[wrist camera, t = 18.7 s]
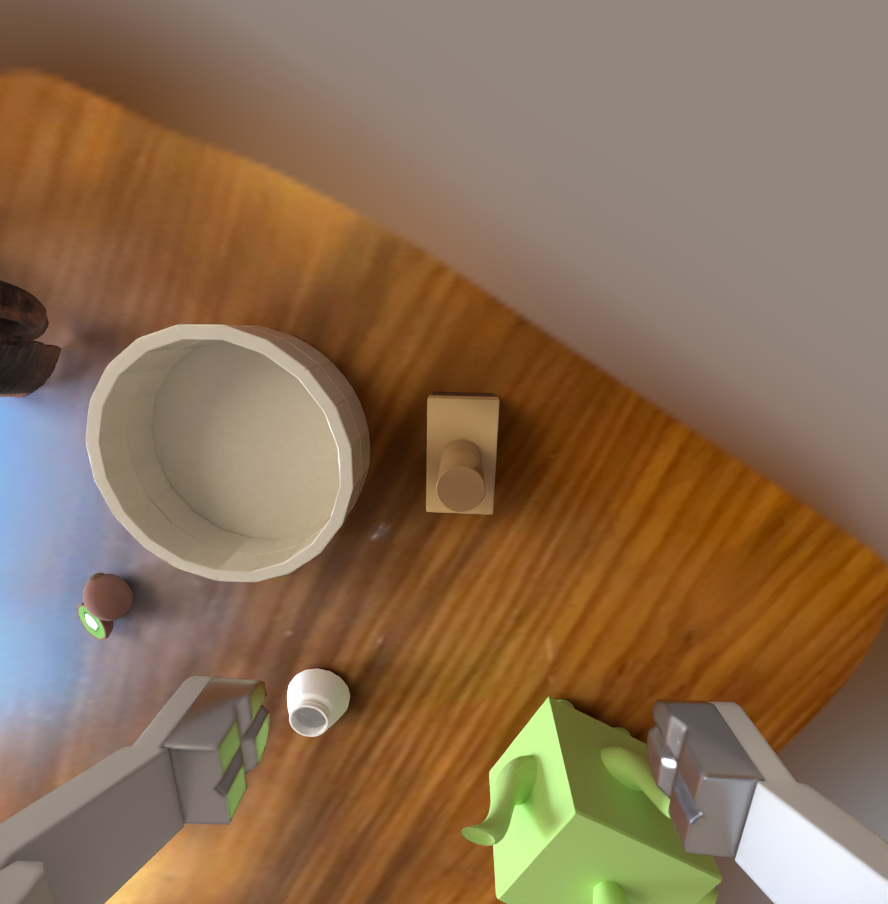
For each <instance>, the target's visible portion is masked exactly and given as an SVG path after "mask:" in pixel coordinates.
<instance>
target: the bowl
mask: <svg viewBox="0 0 888 904" xmlns="http://www.w3.org/2000/svg"><path fill="white" fill-rule="evenodd" d="M86 445H87V449H88V454H89V458H90V463H91V467H92V472H93V476H94V480H95V482H96V484H97V486H98V488H99V490H100V491H101V493H102V495H103V497H104V499H105V501H106V502H107V504H108V506H109V508H110V510H111V511H112V513H113V515H114V517H116V518H117V520H118V521H119V522H120V523H121V524H122V525H123V526H124V527H125V528H126V529H127V530H128V531H129V532H130V533H131V534H132V535H133V536H134V537H135V538H136V539H137V540H138V542H139V543H140V544H141V545H142V546H144V548H146V549H147V550H149V551H150V552H152V553H153V554H155V555H157V556H158V557H160V558H161V559H163V560H165V561H166V562H168V563H169V564H171V565H173V566H174V567H176V568H177V569H181V570H184V571H187V572H190V573H194V574H197V575H200V576H203V577H206V578H209V579H212V580H217V581H234V582H258V581H262V580H266V579H270V578H274V577H277V576H281V575H285V574H289V573H291V572H293V571H294V570H296V569H298V568H299V567H301V566H302V565H304V564H305V563H307V562H308V561H310V560H311V559H313V558H314V557H316V556H317V555H319V554H320V553H321V552H322V551H323V550H324V549H325V547H326V546H327V545H328V543H329V542H330V541H331V539H332V538H333V537H334V535H335V534H336V533H337V531H338V530H339V529H340V527H341V526H342V524H343V523H344V521H345V520H346V518H347V516H348V515H349V513H350V512H351V510H352V508H353V507H354V505H355V504H356V502H357V500H358V499H359V497H360V494H361V491H362V488H363V486H364V483H365V480H366V477H367V474H368V469H369V463H370V436H369V429H368V425H367V420H366V416H365V414H364V411H363V408H362V406H361V403H360V401H359V399H358V397H357V395H356V393H355V391H354V389H353V388H352V386H351V385H350V383H349V382H348V381H347V379H346V378H345V376H344V375H343V374H342V373H341V372H340V370H339V369H338V368H337V367H336V366H335V365H334V364H333V363H332V362H331V361H330V360H329V359H328V358H327V357H325V356H324V355H323V354H322V353H321V352H320V351H318V350H317V349H315V348H314V347H312V346H311V345H309V344H308V343H306V342H304V341H302V340H300V339H298V338H296V337H294V336H292V335H290V334H287V333H284V332H281V331H279V330H275V329H270V328H267V327H264V326H260V325H220V324H177V325H174V326H171V327H168V328H165V329H163V330H160V331H157V332H154V333H151V334H148V335H145V336H143V337H140V338H137V339H136V340H135V341H134V342H133V343H132V344H131V345H129V346H128V347H127V348H126V349H125V350H124V351H123V352H121V353H120V354H119V355H118V356H117V357H116V358H115V359H113V360H112V361H111V362H110V363H109V364H108V365H107V367H106V369H105V371H104V373H103V375H102V377H101V379H100V381H99V383H98V385H97V387H96V389H95V391H94V393H93V395H92V397H91V399H90V402H89V411H88V421H87V431H86Z"/></svg>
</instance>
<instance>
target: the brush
mask: <svg viewBox="0 0 888 904" xmlns="http://www.w3.org/2000/svg"><path fill="white" fill-rule="evenodd" d="M499 404H500V400H499V398H498V397H495V395H494V394H493V393H458V392H433V394H432V395H429V397H428V399H427V474H426V512H442V513H468V514H493V507H494V490H495V473H496V456H497V438H498V421H499Z"/></svg>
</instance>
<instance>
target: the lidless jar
mask: <svg viewBox="0 0 888 904" xmlns="http://www.w3.org/2000/svg"><path fill="white" fill-rule="evenodd" d="M349 700H350V693H349V689H348V686H347V685H346V684H345V682H344V681H343V680H342V679H341V677H339V676H337V675H336V674H334V673H332V672H331V671H327V670H322V669H308V670H304V671H303V672H301V673H299V674H297V675H296V676H295V677H294V678H293V680H292V681H291V682H290V684H289V686H288V692H287V703H288V712H289V722H290V725H291V726H292V728H293V729H294V730H295V731H296V732H297V733H299V734H301V735H304V736H309V737H314V736H319V735H321V734H323V733H324V732H325V731H326V730H327V729H328V728H329V727H331V726H332V725H333V724H334V723H335V722H336V721H337V720H338V719H339V718H340V717H341V716H342V715H343V714H344V712H345V711H346V710H347V708H348V705H349Z"/></svg>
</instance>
